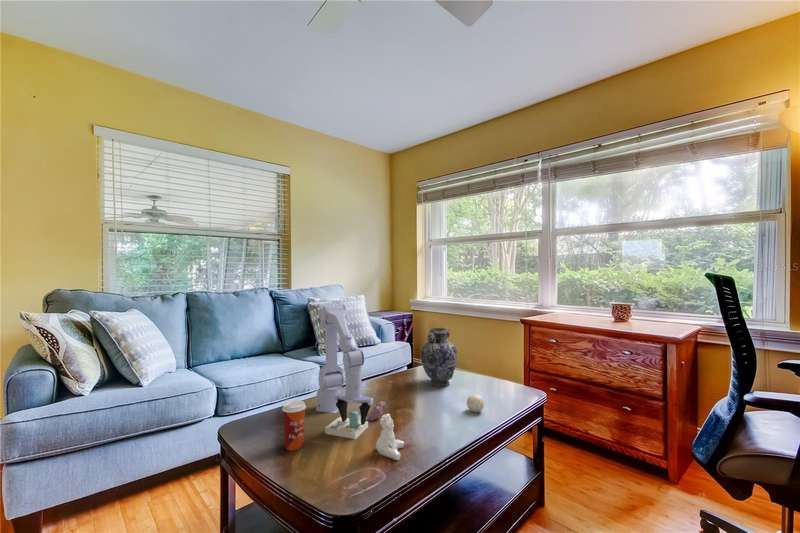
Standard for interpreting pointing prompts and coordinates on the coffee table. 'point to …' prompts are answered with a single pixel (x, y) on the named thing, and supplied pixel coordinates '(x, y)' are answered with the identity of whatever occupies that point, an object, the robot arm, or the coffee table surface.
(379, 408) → the video game controller
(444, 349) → the decorative vase
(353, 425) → the plug
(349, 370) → the robot arm
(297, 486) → the coffee table surface
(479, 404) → the baseball
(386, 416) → the white creature statuette
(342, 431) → the socket board
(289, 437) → the paper cup
